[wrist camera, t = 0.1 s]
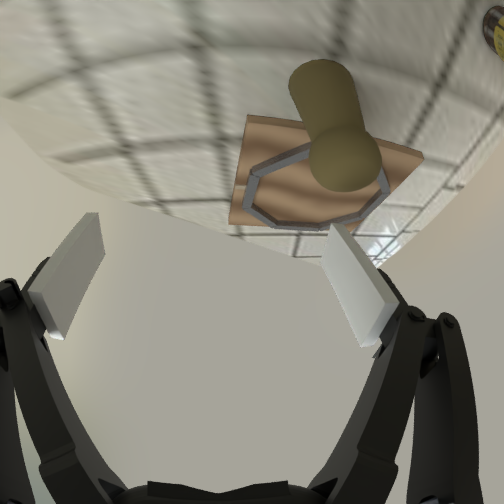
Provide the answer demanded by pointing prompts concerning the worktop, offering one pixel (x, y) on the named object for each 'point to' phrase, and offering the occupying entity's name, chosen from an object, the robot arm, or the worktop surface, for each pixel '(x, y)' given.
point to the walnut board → (304, 176)
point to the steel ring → (254, 210)
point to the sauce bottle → (495, 30)
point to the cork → (334, 127)
